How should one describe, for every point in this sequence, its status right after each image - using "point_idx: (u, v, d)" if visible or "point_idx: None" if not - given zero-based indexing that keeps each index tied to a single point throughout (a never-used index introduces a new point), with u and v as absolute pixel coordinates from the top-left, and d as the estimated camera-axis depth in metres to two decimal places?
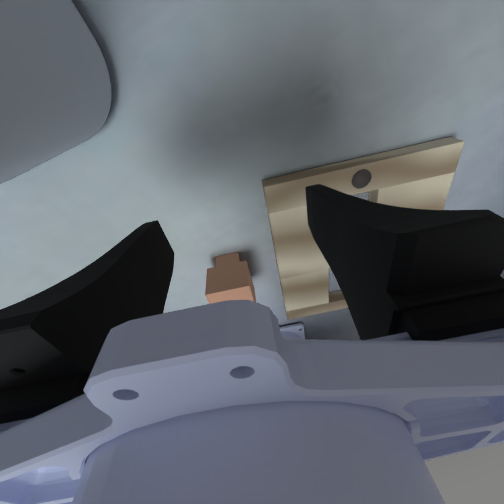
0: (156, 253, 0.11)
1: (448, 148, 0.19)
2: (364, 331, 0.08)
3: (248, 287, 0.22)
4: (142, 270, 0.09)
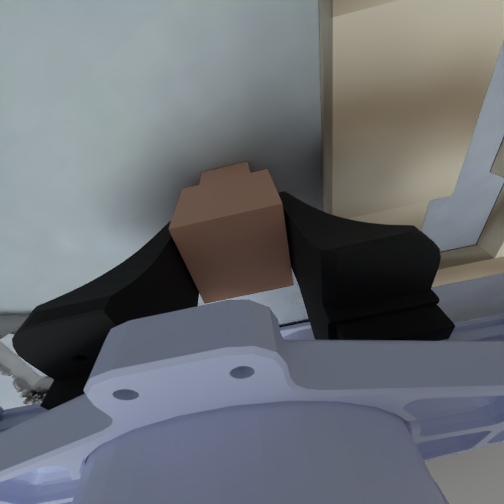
0: None
1: None
2: (317, 340, 0.08)
3: (279, 209, 0.08)
4: (180, 262, 0.09)
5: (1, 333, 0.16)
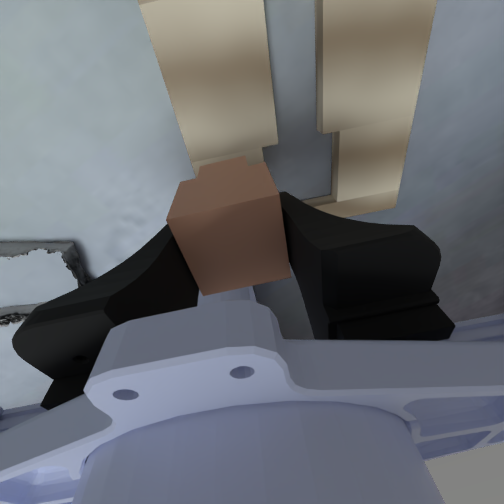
0: None
1: None
2: (318, 339, 0.08)
3: (276, 199, 0.08)
4: (180, 262, 0.09)
5: None
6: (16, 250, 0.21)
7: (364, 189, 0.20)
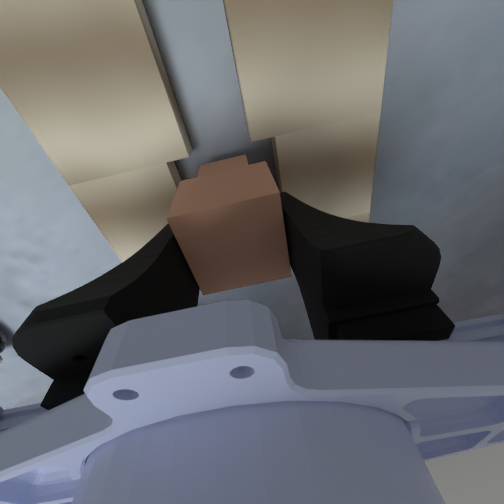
0: None
1: None
2: (317, 340, 0.08)
3: (277, 198, 0.08)
4: (180, 262, 0.09)
5: None
6: None
7: None
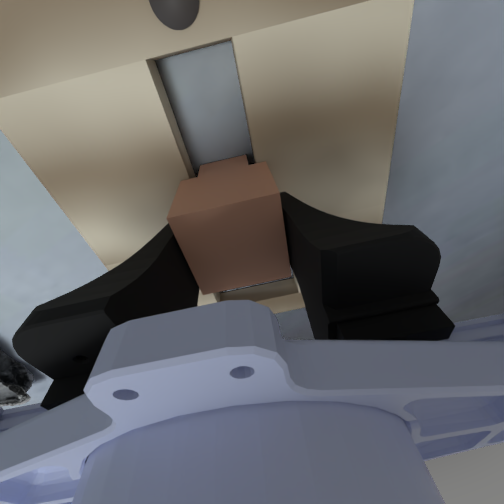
0: None
1: None
2: (317, 340, 0.08)
3: (277, 198, 0.08)
4: (180, 262, 0.09)
5: None
6: None
7: None
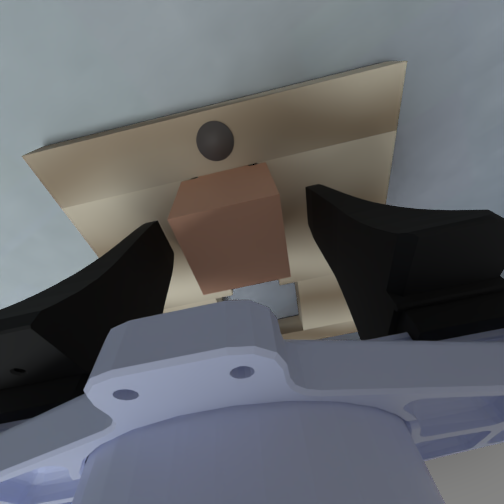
0: (156, 253, 0.11)
1: (376, 77, 0.10)
2: (364, 331, 0.08)
3: (276, 200, 0.09)
4: (142, 270, 0.09)
5: None
6: None
7: (330, 320, 0.19)
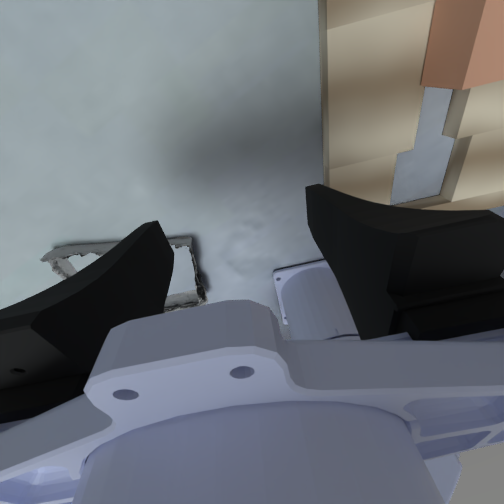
0: (156, 253, 0.11)
1: None
2: (364, 330, 0.08)
3: None
4: (142, 270, 0.09)
5: (83, 253, 0.21)
6: None
7: (479, 189, 0.21)
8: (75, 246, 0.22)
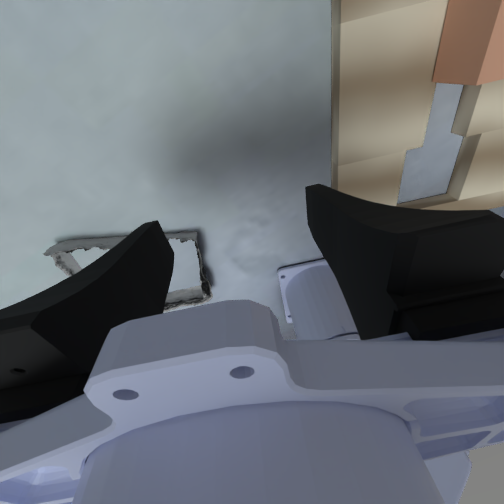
0: (156, 253, 0.11)
1: None
2: (364, 330, 0.08)
3: None
4: (142, 270, 0.09)
5: (87, 247, 0.21)
6: None
7: (486, 188, 0.21)
8: (79, 241, 0.22)
